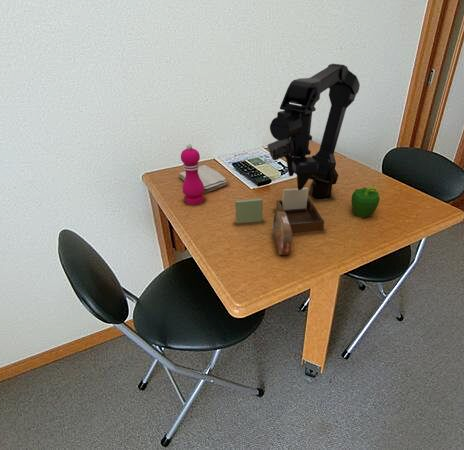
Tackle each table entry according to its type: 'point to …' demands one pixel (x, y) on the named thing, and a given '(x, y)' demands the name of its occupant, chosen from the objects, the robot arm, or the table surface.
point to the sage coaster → (249, 210)
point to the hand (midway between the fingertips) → (295, 182)
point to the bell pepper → (365, 202)
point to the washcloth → (208, 178)
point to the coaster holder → (303, 218)
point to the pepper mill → (192, 176)
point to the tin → (282, 232)
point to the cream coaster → (294, 198)
